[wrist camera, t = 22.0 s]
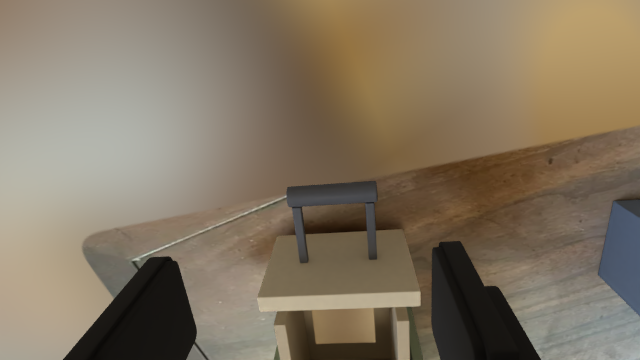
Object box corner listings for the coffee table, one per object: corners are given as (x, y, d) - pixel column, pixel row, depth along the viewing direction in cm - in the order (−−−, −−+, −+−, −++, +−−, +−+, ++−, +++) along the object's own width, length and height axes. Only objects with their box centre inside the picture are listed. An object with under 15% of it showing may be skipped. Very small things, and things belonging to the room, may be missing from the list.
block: (369, 256, 30) (373, 293, 26) (372, 301, 32) (376, 342, 28) (314, 259, 31) (309, 295, 27) (319, 303, 33) (315, 344, 28)
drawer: (266, 169, 29) (240, 216, 22) (401, 159, 28) (420, 205, 21) (297, 356, 36) (284, 437, 29) (405, 353, 35) (421, 437, 28)
